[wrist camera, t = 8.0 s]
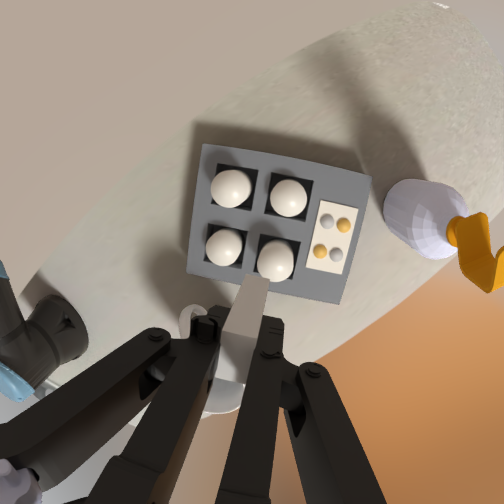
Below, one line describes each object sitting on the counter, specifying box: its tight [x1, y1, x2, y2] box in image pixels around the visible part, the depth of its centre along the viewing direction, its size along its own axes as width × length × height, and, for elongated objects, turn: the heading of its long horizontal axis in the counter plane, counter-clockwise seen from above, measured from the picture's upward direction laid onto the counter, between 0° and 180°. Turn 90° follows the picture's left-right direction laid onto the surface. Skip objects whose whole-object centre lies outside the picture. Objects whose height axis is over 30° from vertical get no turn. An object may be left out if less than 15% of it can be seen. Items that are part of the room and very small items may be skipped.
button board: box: [186, 143, 373, 305], centre depth 39 cm, size 22×18×4 cm
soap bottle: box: [383, 179, 504, 293], centre depth 27 cm, size 9×9×25 cm
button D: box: [270, 179, 307, 217], centre depth 37 cm, size 4×4×4 cm
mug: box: [179, 304, 246, 414], centre depth 42 cm, size 15×11×13 cm
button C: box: [257, 238, 293, 282], centre depth 38 cm, size 4×4×4 cm
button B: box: [211, 170, 253, 208], centre depth 36 cm, size 4×4×4 cm
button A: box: [206, 226, 245, 266], centre depth 40 cm, size 4×4×4 cm
